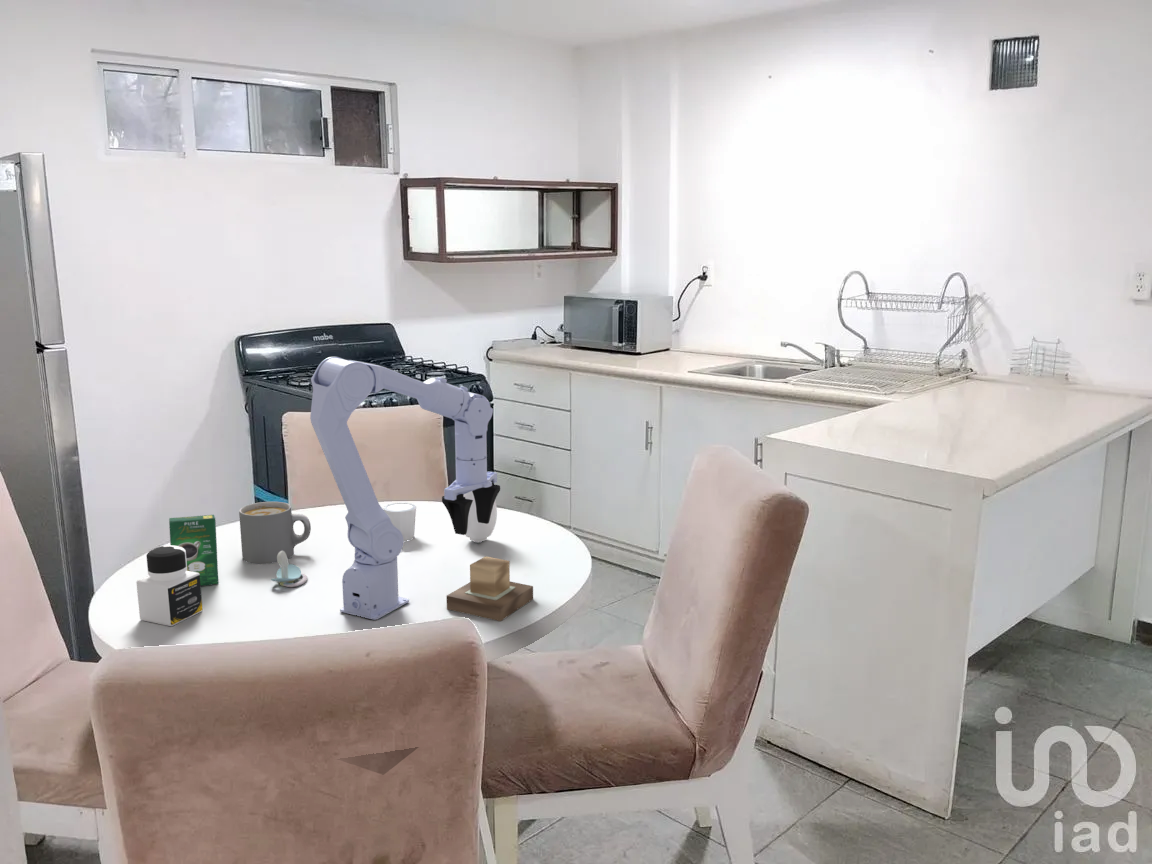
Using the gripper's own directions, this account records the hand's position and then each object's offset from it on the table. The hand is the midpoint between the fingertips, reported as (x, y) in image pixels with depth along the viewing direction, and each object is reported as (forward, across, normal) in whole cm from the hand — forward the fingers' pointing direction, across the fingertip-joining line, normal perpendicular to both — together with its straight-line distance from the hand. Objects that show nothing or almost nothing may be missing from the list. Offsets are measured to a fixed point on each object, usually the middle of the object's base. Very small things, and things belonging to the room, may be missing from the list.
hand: (472, 528), depth 170 cm
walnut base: (+10, -8, -9) cm, 16 cm away
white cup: (+11, +14, +28) cm, 33 cm away
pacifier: (+11, -17, +30) cm, 36 cm away
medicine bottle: (+11, -38, +36) cm, 53 cm away
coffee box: (+11, -26, +44) cm, 52 cm away
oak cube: (+8, -8, -9) cm, 14 cm away
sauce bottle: (+11, +20, +12) cm, 26 cm away
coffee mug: (+11, -7, +43) cm, 45 cm away
